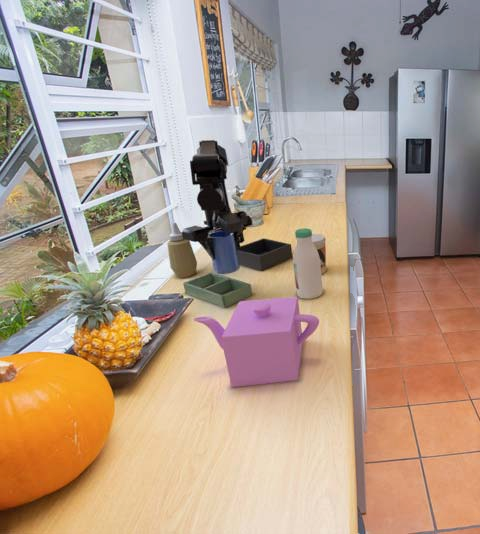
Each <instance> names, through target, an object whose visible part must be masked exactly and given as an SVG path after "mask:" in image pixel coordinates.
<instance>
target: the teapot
mask: <svg viewBox="0 0 480 534" xmlns="http://www.w3.org/2000/svg"><path fill="white" fill-rule="evenodd" d="M298 297H299V296H293V297H292V296H291V297H279V298H278V297H276V298H265V299H252V300H251V299H250V300H240V301H238V302H237V305H236V306H235V308H234V311H233V312H232V315H231V316H230V318H229V320H228V323H227V325H226V326H225V328H224V327H223V326H222V325H221V323H220V322H219V321H218V320H216V319H215V318H213V317H210V316H199V317H195V318H193V321H194V322H196V323H200V324H202V325H204V326H205V327H207V328H208V329H209V330H210V331H211V333H212V335H213V337H214V339H215V341H216V342H217V344H218V345H219V347H220V349H221V350H223V353H224V358H225V363H226V368H227V372H228V376H229V377H228V378H229V382H230V385H231V388H236V387H237V388H238V387H248V386H256V385H257V386H258V385H267V384H275V383H285V382H294V381H298V380H299V371H300V366H301V365H300V364H301V357H302V351H303V342H304V341H306V340H307V339H308V338H310V337H311V336H312V335H313V334H314V333H315V332H316V331H317V329H318V327H319V326H320V325H319V324H320V320H319V318H318V316H316V315H313V314H305V313H300V312H301V311H300V305H299V298H298ZM302 323H307V324H306V327H305V328H304V330H303V329H302V328H303V327H302Z"/></svg>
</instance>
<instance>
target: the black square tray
mask: <svg viewBox="0 0 480 534" xmlns="http://www.w3.org/2000/svg"><path fill="white" fill-rule="evenodd" d="M237 255H238V260H239V266H241V267H245V268H249V269H252V270H256V271H259V272H264V271H266V270H268V269H271V268H273V267H275V266H277V265H280V264H282V263H285V262H288V261H290V260H293V248H292V244H291V243H286V242H283V241H278V240H273V239H269V238H264V237H263V238H260V239H258V240H254V241H251V242H249V243H246V244H243V245H240V247H237Z"/></svg>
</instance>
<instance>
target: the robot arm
mask: <svg viewBox="0 0 480 534" xmlns="http://www.w3.org/2000/svg"><path fill="white" fill-rule="evenodd" d="M198 143H199V144H198V145H199V147H197V149H196V154H194V155H193V156H192V157H191V160H189V166H190V174H191V182H192V186H197V185H199V192H198V194H197V196H196V201H197V204H198V206H199V207H200V209H201V211H204V215H205V220H203V224H204V225H205V226H204V227H203V226H199V225H193V226H189V227H185V228H183V229H182V231H181V232H182V236H183V239H186V240H189V241H190V242H194V243H199V244H200V245H201V247H202V248H203V249H204V251H205V252H206V254H207V255H209V257H210V258H211V260H212V259H215V253H214V248H213V244H212V242H213V240H214V238H211V237H210V233H212V232H216V231H224V230H225V232H226V233H229V234H231V233H234V238H235V243H236V249H237V247H240V246H241V244H243V243H245V235H244V231H246V230H247V228H248V227H251V226H253V219H252V217H251V216H250V215H248V214H247V212H246V211H244V210H240V211H237V212H232V210H231V207H230V202H229V198H228V192H227V187H226V180H227V179H228V177H227V173H228V166H229V159H228V154H227V150H226V148H224V147H223V146H221V145H220V144H219V143H218V140H215V139H207V140H206V139H205V140H201V141H199V142H198Z"/></svg>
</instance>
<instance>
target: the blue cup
mask: <svg viewBox="0 0 480 534" xmlns="http://www.w3.org/2000/svg"><path fill="white" fill-rule="evenodd" d="M209 234H210V237H211V238H214V240H213V242H212V244H213V248H214V253H215V259H212V258H211V260H212V267H213V271H214V273H216V274H219V275H227V274H233V273H235V272H237V271H239V270H240V268H241V267H240V265H239V260H238V255H237V249H236V243H235V238H234V233H231V234H229V233H226V232H225V230H224V231H216V232H212V233H209Z"/></svg>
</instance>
